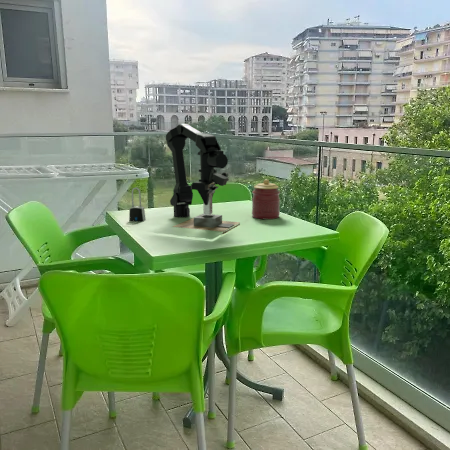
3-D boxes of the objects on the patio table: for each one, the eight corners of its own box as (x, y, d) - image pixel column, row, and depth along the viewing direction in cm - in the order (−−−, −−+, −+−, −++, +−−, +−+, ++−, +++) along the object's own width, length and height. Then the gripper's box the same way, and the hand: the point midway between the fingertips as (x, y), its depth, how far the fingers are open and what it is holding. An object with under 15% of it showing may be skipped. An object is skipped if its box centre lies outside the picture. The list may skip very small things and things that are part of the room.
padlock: (128, 221, 187) (126, 188, 183) (131, 219, 191) (129, 186, 187) (143, 221, 186) (141, 188, 183) (145, 219, 190) (144, 186, 187)
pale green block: (200, 213, 174) (199, 190, 172) (203, 212, 177) (202, 189, 175) (213, 214, 172) (212, 190, 170) (215, 213, 174) (215, 189, 172)
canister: (279, 214, 201) (280, 177, 197) (280, 219, 188) (281, 181, 184) (252, 213, 202) (252, 177, 198) (251, 219, 190) (251, 180, 186)
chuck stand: (172, 228, 172) (172, 218, 171) (192, 220, 188) (192, 210, 187) (223, 234, 163) (223, 222, 162) (240, 224, 179) (240, 214, 178)
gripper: (215, 169, 158) (216, 209, 162) (234, 165, 175) (234, 202, 179) (189, 168, 163) (190, 207, 166) (210, 164, 179) (210, 200, 183)
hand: (207, 204), depth 173 cm, fingers closed on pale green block, 3 cm apart
